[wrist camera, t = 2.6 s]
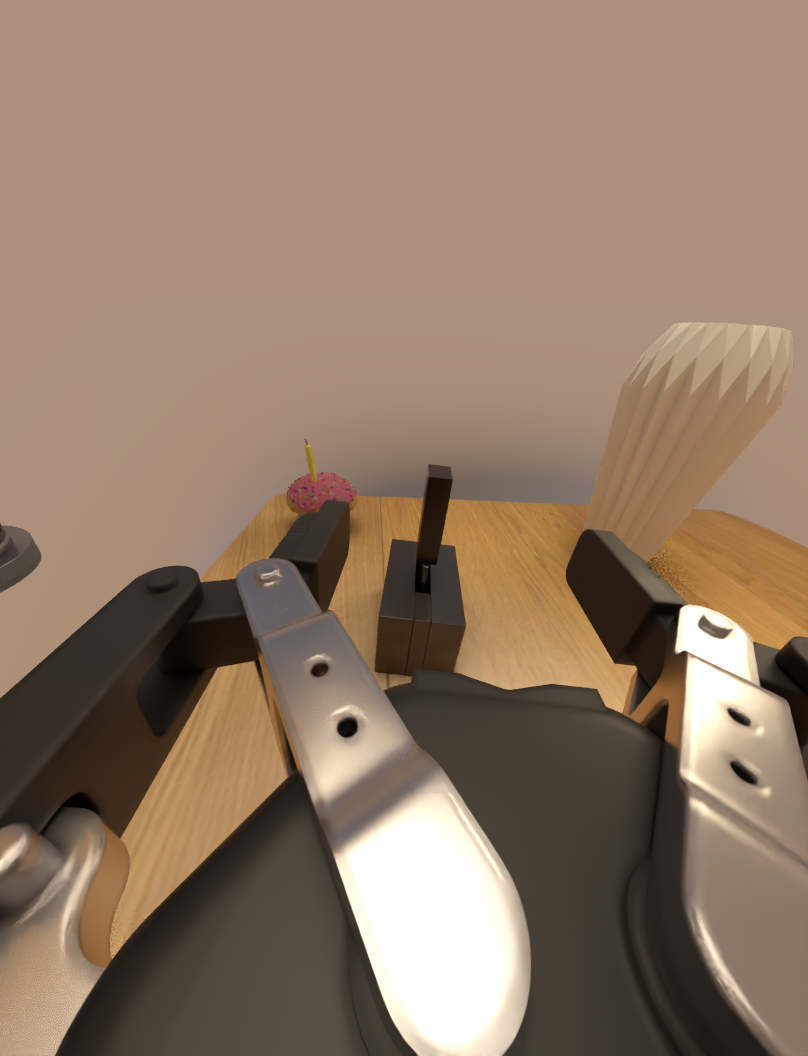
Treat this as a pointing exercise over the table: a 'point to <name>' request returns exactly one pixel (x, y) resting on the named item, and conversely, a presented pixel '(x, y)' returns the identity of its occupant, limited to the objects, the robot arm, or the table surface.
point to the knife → (432, 518)
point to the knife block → (419, 613)
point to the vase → (685, 425)
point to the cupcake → (318, 489)
